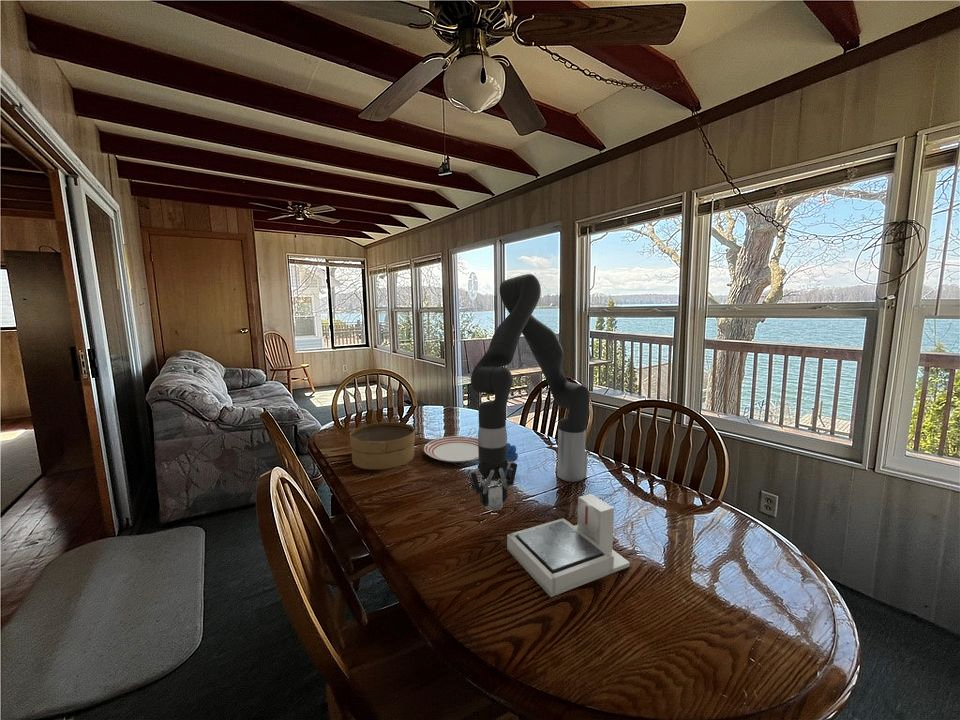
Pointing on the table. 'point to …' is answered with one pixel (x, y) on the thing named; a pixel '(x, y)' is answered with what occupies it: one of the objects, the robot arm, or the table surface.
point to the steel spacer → (495, 496)
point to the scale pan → (558, 546)
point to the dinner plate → (453, 449)
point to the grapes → (511, 454)
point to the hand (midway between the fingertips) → (493, 502)
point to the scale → (594, 528)
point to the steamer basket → (382, 445)
